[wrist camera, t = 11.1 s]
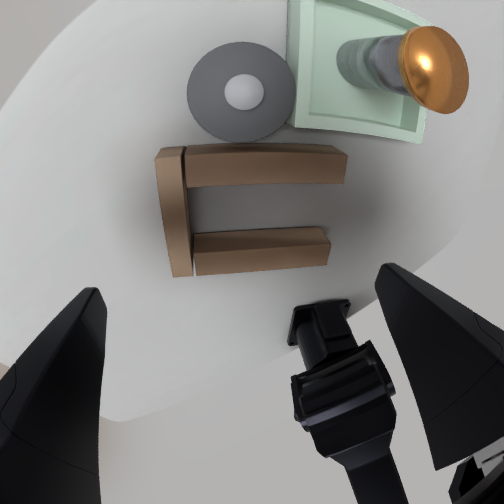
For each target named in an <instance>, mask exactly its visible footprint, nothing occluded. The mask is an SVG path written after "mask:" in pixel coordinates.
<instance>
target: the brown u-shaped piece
mask: <svg viewBox="0 0 504 504" xmlns="http://www.w3.org/2000/svg"><path fill="white" fill-rule="evenodd" d="M347 157H348V155H346V154H344V153H343V152H341V151H340V150H338V149H336V148H335V147H333V146H328V145H313V144H290V143H231V144H208V145H193V146H187V149H186V153H185V161H184V146H180V147H170V148H161V149H160V151H159V153H158V154H157V156H156V157H155V167H156V175H157V184H158V192H159V199H160V206H161V213H162V219H163V226H164V232H165V238H166V244H167V249H168V255H169V260H170V265H171V270H172V275H173V277H186V276H193V257H194V260H195V268H196V276H201V275H214V274H228V273H241V272H253V271H265V270H277V269H288V268H300V267H310V266H321V265H327V261H328V256H329V252H330V248H331V243H330V241H329V240H328V238H327V237H326V235H325V234H324V232H323V231H322V229H321V228H320V227H305V228H285V229H266V230H249V231H233V232H218V233H203V234H194V255H193V247H192V238H191V229H190V220H189V210H188V199H187V188H190V187H204V186H221V185H242V184H278V183H323V184H343V182H344V176H345V170H346V164H347ZM185 169H186V175H185ZM186 182H187V188H186Z"/></svg>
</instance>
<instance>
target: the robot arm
mask: <svg viewBox="0 0 504 504" xmlns="http://www.w3.org/2000/svg"><path fill="white" fill-rule="evenodd" d="M375 290H376V293H377V296H378V299H379V301H380V305H381V307H382V310H383V314H384V317H385V320H386V323H387V326H388V328H389V331H390V333H391V336H392V338H393V340H394V343H395V345H396V348H397V350H398V353H399V355H400V358H401V360H402V363H403V366H404V368H405V371H406V374H407V376H408V379H409V382H410V385H411V388H412V390H413V393H414V396H415V399H416V402H417V406H418V408H419V412H420V415H421V418H422V421H423V424H424V429H425V432H426V435H427V440H428V443H429V447H430V451H431V455H432V459H433V464H434V468H435V470H436V471H437V470H439V469H442V468H444V467H446V466H449V465H451V464H453V463H456V462H457V461H460V460H462V459H464V458H466V457H468V456H469V457H468V458H467V459H466V460H464V461H463V462H462V463H460V464H459V465H458V466H457V469H456V473H455V475H454V478H453V481H452V484H451V486H450V489H449V491H448V492H449V495H450V498H451V502H452V504H504V331H503V330H502V329H500V328H498V327H497V326H495V325H494V324H492V323H490V322H489V321H487V320H486V319H484V318H483V317H481V316H480V315H478V314H477V313H475V312H473V311H472V310H470V309H469V308H467V307H466V306H464V305H462V304H461V303H459V302H458V301H456V300H455V299H453V298H452V297H450V296H449V295H447V294H445V293H444V292H442V291H440V290H439V289H437V288H435V287H434V286H432V285H431V284H429V283H427V282H426V281H424V280H422V279H420V278H419V277H417V276H415V275H414V274H412V273H410V272H409V271H407V270H405V269H404V268H402V267H400V266H398V265H397V264H395V263H385V264H383V265H382V266H381V268H380V270H379V273H378V275H377V278H376V281H375ZM350 305H351V303H350V302H349V300H343V301H336V302H330V303H323V304H316V305H309V306H301V307H297V308H295V309H294V311H293V316H292V321H291V326H290V331H289V336H288V340H287V343H288V345H289V346H294V345H299V348H300V351H301V354H302V357H303V361H304V364H305V367H306V370H307V371H305V372H303V373H300V374H298V375H293V376H291V381H292V383H291V389H292V396H293V403H294V418H295V420H296V421H298V422H300V423H301V425H302V427H303V428H304V430H305V431H306V432H310V433H311V435H312V438H313V440H314V443H315V446H316V450H317V451H318V452H319V453H320V454H321V455H322V456H323V457H325V458H328V457H331V458H332V459H334V460H335V461H337V462H338V463H340V464H341V465H343V466H344V467H345V469H346V472H347V475H348V477H349V480H350V483H351V486H352V489H353V491H354V494H355V497H356V500H357V502H358V504H409V503H408V500H407V497H406V494H405V491H404V488H403V485H402V482H401V479H400V476H399V473H398V471H397V468H396V465H395V462H394V459H393V457H392V454H391V451H390V448H389V446H390V443H391V439H392V434H393V430H394V429H395V423H396V410H395V408H394V405H393V403H392V400H391V398H390V397H391V396H393V395H394V394H396V392H395V388H394V385H393V382H392V380H391V377H390V375H389V373H388V371H387V369H386V368H385V365H384V363H383V362H382V360H381V358H380V356H379V354H378V353H377V351H376V349H375V348H374V346H373V344H372V342H371V341H370V340H368V341H367V342H365V344H363V345H361V346H359V347H358V345H357V343H356V340H355V338H354V336H353V334H352V331H351V329H350V327H349V325H348V323H347V320H346V316H347V313H348V310H349V308H350ZM106 323H107V307H106V305H105V302H104V300H103V298H102V296H101V293H100V291H99V289H98V288H96V287H87V288H84V289H83V290H82V291H81V292H80V293H79V294H78V295H77V296H76V297H75V298H74V299H73V300H72V301H71V302H70V303H69V304H68V305H67V306H66V307H65V308H64V309H63V310H62V311H61V312H60V313H59V314H58V315H57V316H56V317H55V318H54V319H53V320H52V321H51V322H50V323H49V324H48V326H47V327H46V328H45V329H44V330H43V331H42V332H41V333H40V334H39V335H38V336H37V337H36V339H35V340H34V341H33V342H32V343H31V344H30V345H29V346H28V348H27V349H26V350H25V351H24V352H23V353H22V355H21V356H20V357H19V358H18V359H17V360H16V363H14V364H13V365H12V366H11V368H10V369H9V370H8V372H7V373H6V374H5V375H4V376H3V378H2V379H1V380H0V504H101V495H100V482H99V466H98V465H99V464H98V433H99V410H100V396H101V385H102V376H103V367H104V359H105V340H106Z"/></svg>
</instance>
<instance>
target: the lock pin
mask: <svg viewBox="0 0 504 504" xmlns="http://www.w3.org/2000/svg"><path fill="white" fill-rule="evenodd" d="M336 63H337V67H338V70H339V72H340V74H341V75H342V77H343V78H344V79H345V80H346V81H347V82H348V83H350V84H352V85H354V86H357V87H362V88H368V89H374V90H380V91H385V92H390V93H395V94H400V95H404V96H409V97H412V98H413V99H414V100H415V101H416V102H417V103H418V104H419V105H421V106H422V107H424V108H426V109H429V110H432V111H435V112H438V113H442V114H449V113H453V112H455V111H456V110H457V109H459V108H460V107H461V105H462V104H463V102H464V100H465V98H466V95H467V92H468V86H469V73H468V67H467V63H466V59H465V57H464V54H463V52H462V50H461V48H460V46H459V45H458V43H457V42H456V41H455V40H454V38H453V37H452V36H451V35H450V34H448V33H447V32H446V31H444V30H443V29H441V28H438V27H435V26H418V27H413V28H411V29H409V30H408V31H407V32H406V33H405V34H404V35H390V36H379V37H370V38H362V39H355V40H350V41H347V42H345V43H344V44H342V45H341V46H340V48H339V50H338V52H337V56H336Z"/></svg>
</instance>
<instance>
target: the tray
mask: <svg viewBox="0 0 504 504" xmlns="http://www.w3.org/2000/svg"><path fill="white" fill-rule="evenodd" d="M418 26H432V23H430V22H428V21H426V20H424V19H423V18H421V17H419V16H417V15H415V14H413V13H411V12H409V11H407V10H405V9H402V8H400V7H398V6H396V5H393V4H391V3H389V2H386V1H384V0H288V16H287V47H286V63H287V65H288V66H289V68H290V70H291V72H292V74H293V77H294V80H295V86H296V97H295V102H294V106H293V109H292V111H291V113H290V115H289V117H288V118H287V120H286V121H285V122H286V123H288V124H290V125H292V126H293V127H299V128H314V129H326V130H336V131H345V132H353V133H360V134H367V135H374V136H380V137H386V138H392V139H397V140H402V141H407V142H412V143H417V144H422V139H423V133H424V128H425V121H426V115H427V109H426V108H424V107H422V106H421V105H419V104H418V103H417V102H416V101H415V100H414V99H413V98H412V97H409V96H404V95H400V94H395V93H390V92H385V91H380V90H374V89H368V88H362V87H357V86H354V85H352V84H350V83H348V82H347V81H346V80H345V79H344V78H343V77H342V75H341V74H340V72H339V70H338V67H337V63H336V56H337V52H338V50H339V48H340V46H341V45H342V44H344V43H345V42H347V41H350V40H355V39H362V38H370V37H379V36H390V35H404V34H405V33H406V32H407V31H408V30H409V29H411V28H413V27H418Z"/></svg>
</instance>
